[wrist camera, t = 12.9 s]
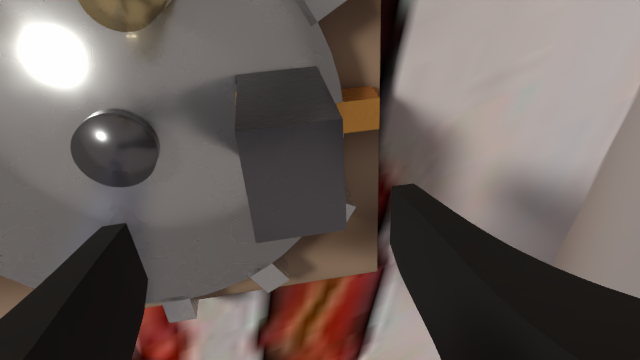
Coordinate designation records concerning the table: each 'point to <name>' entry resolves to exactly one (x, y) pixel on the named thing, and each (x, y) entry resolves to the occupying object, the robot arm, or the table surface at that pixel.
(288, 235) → the brushed metal cube
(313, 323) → the table surface
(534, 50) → the table surface
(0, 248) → the sprocket wheel
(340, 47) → the base
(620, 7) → the table surface
